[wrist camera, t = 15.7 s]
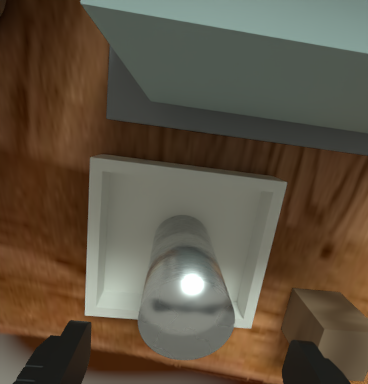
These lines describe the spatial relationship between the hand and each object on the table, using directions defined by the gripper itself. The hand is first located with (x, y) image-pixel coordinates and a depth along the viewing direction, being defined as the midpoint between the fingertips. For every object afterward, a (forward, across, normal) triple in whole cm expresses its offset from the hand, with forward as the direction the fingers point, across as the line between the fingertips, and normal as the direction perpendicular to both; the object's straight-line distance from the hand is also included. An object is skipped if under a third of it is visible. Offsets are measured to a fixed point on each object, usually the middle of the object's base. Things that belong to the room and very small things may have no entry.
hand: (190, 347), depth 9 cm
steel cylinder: (+9, 0, 0) cm, 9 cm away
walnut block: (+10, -13, +6) cm, 17 cm away
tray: (+10, 0, 0) cm, 10 cm away
